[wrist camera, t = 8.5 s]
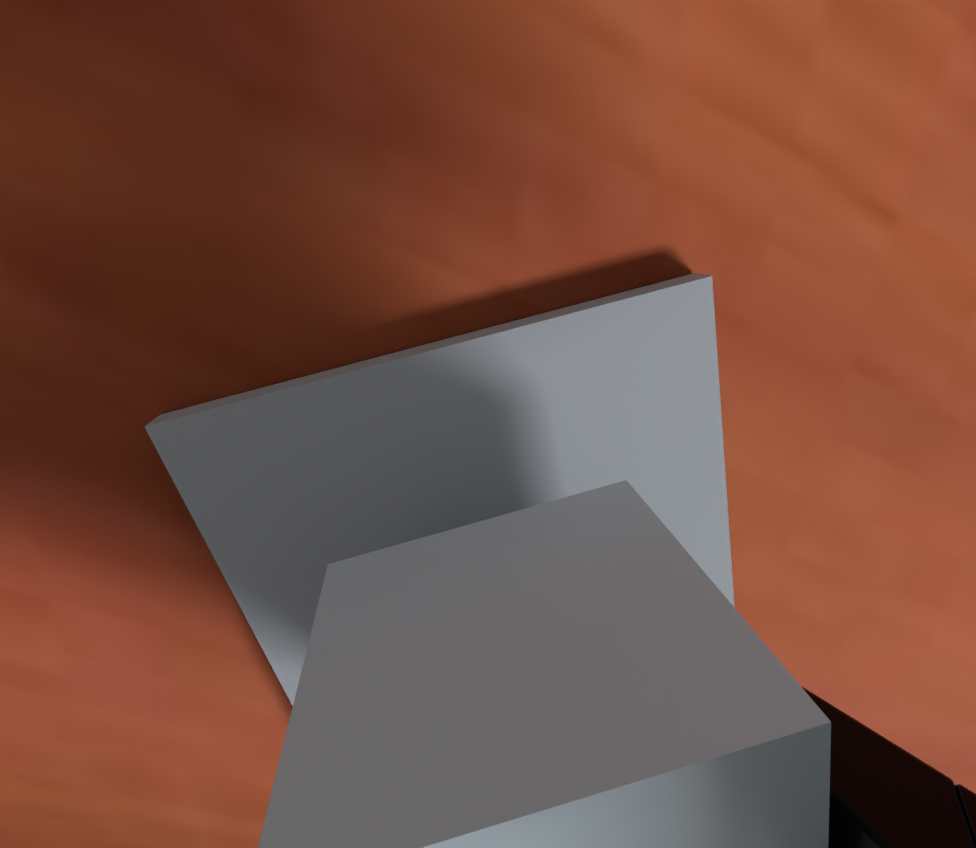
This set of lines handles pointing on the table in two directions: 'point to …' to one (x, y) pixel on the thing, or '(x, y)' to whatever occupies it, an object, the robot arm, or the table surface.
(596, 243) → the table surface
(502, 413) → the mat
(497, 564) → the pale blue cube
